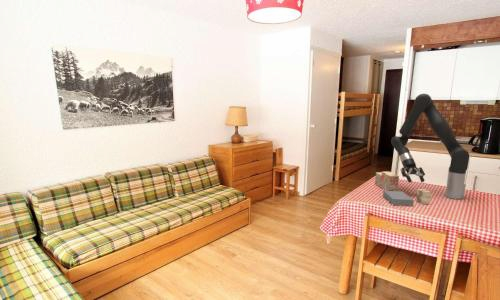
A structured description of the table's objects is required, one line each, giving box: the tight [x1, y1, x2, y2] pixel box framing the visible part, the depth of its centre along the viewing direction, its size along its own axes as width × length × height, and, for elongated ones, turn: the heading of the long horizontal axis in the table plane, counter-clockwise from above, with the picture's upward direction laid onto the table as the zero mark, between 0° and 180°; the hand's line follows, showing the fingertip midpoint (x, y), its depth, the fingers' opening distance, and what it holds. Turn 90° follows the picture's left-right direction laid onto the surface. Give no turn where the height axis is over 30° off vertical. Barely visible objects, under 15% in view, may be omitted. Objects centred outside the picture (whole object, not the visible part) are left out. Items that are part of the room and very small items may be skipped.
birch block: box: [415, 188, 432, 205], centre depth 173 cm, size 5×5×8 cm
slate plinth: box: [382, 190, 415, 207], centre depth 176 cm, size 12×16×4 cm
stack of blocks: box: [374, 171, 400, 191], centre depth 202 cm, size 21×6×12 cm, turn 1°
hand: (416, 181), depth 179 cm, fingers open, 8 cm apart
